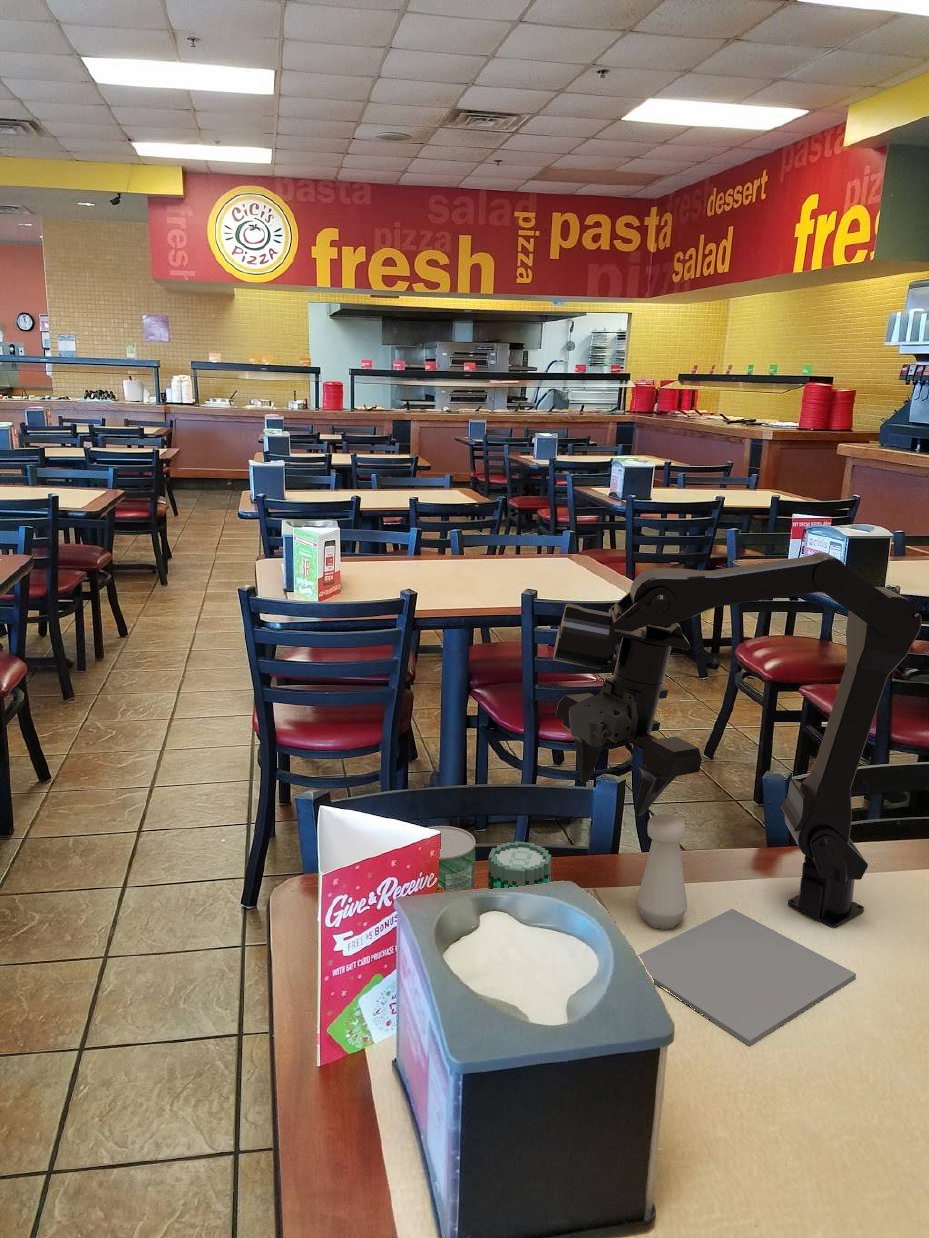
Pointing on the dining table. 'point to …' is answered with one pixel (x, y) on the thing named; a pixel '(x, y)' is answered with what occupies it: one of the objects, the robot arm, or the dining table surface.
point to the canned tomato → (456, 859)
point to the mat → (743, 974)
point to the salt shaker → (663, 874)
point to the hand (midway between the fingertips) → (610, 797)
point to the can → (518, 865)
